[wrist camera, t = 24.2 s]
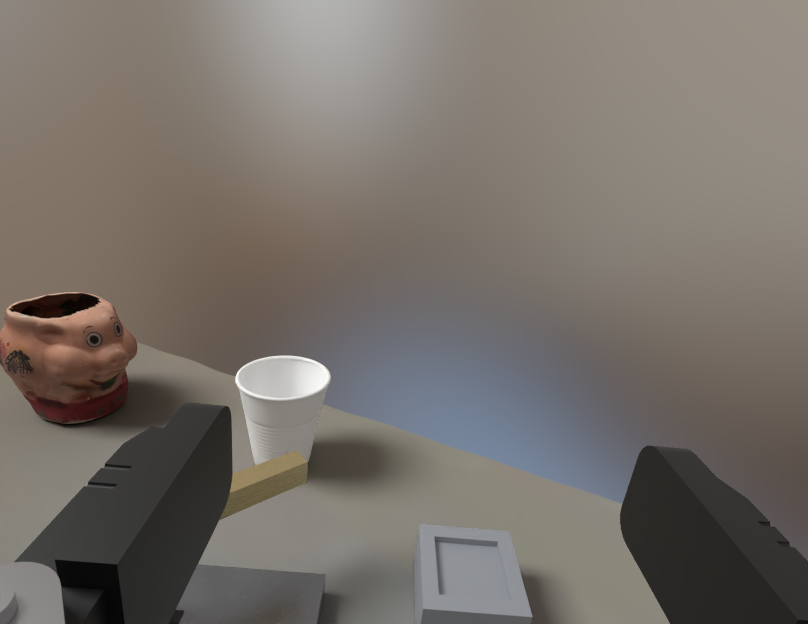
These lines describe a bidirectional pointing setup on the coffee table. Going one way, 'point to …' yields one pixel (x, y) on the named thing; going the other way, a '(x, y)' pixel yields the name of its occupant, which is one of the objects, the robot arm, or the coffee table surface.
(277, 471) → the brown piece
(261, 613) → the plate
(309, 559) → the coffee table surface
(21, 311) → the decorative planter
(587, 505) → the coffee table surface
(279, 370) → the cup
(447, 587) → the housing
